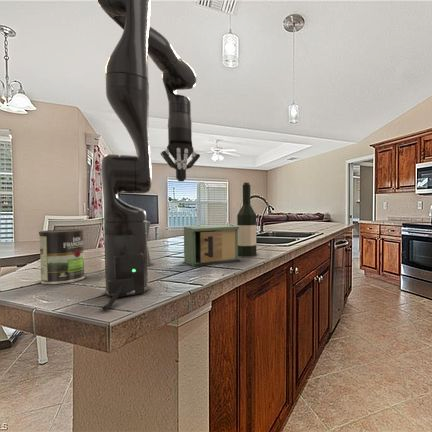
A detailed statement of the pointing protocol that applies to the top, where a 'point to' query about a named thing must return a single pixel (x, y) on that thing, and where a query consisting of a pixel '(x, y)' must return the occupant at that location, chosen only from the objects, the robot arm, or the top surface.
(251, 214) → the wine bottle
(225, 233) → the cupboard
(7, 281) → the top surface
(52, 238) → the coffee can
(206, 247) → the sliding door
